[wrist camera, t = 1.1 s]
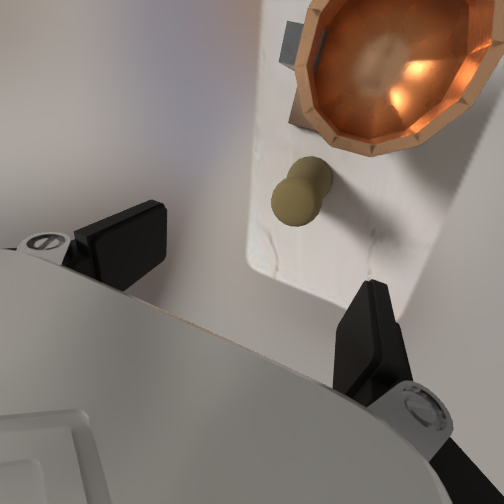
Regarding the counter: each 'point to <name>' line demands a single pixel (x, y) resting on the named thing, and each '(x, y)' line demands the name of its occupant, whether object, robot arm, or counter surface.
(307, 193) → the cork
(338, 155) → the counter surface
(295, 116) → the cup bracket
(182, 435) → the robot arm
